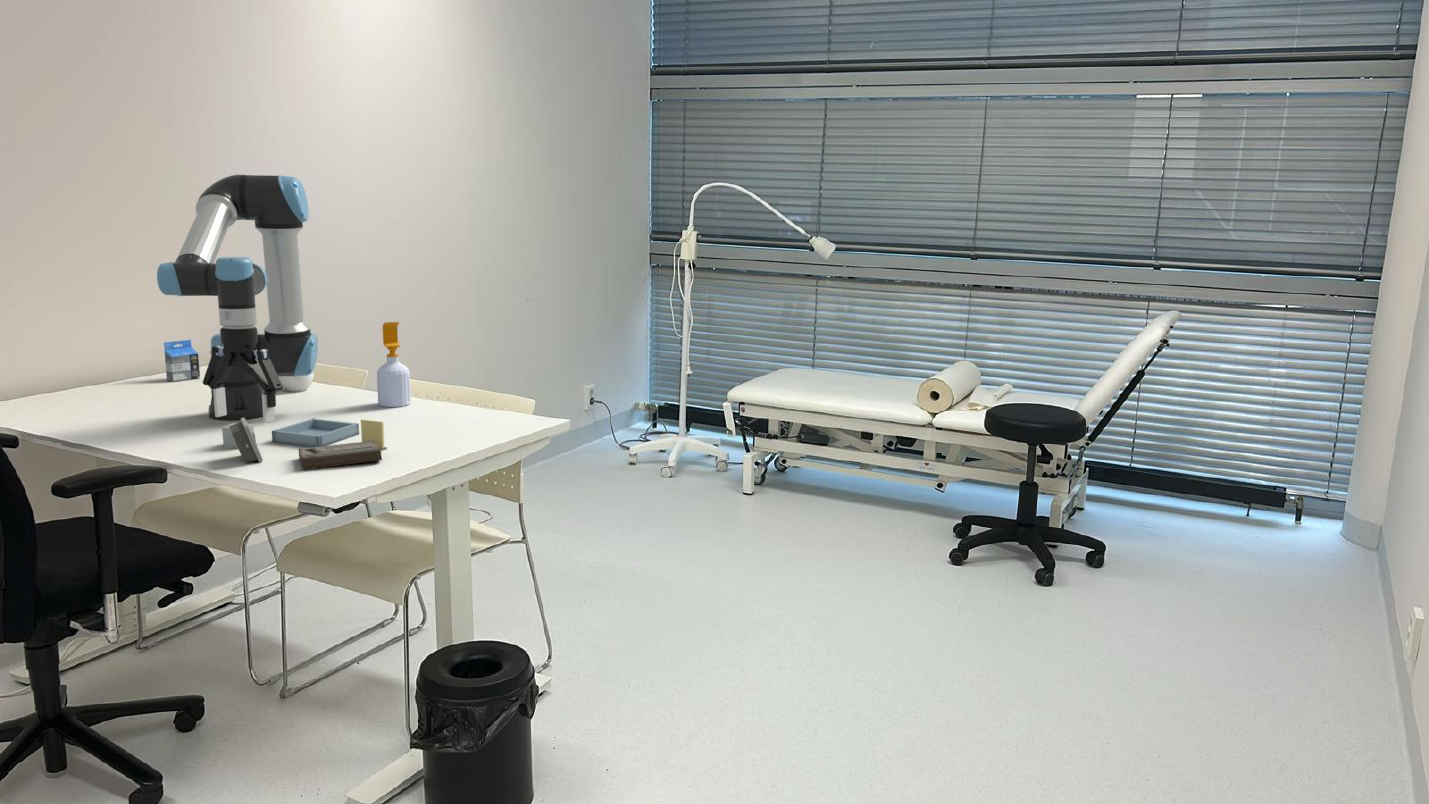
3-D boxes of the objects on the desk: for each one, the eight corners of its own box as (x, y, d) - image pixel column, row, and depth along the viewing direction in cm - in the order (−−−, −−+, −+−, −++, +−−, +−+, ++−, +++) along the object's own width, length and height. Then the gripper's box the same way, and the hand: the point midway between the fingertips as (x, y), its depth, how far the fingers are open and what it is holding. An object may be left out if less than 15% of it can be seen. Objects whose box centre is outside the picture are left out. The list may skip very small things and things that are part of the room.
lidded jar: (270, 390, 299) (268, 360, 297) (302, 385, 307) (300, 356, 305) (290, 394, 293) (288, 364, 291) (322, 389, 301) (320, 360, 299)
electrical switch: (263, 462, 221) (256, 424, 219) (238, 467, 219) (231, 428, 217) (259, 453, 229) (252, 415, 227) (235, 457, 227) (227, 419, 224)
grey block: (223, 447, 233) (222, 427, 232) (234, 442, 238) (233, 422, 237) (243, 448, 233) (242, 428, 232) (254, 443, 238) (253, 423, 237)
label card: (359, 448, 236) (358, 420, 234) (365, 446, 238) (364, 418, 236) (380, 451, 234) (379, 423, 232) (386, 448, 236) (385, 420, 235)
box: (382, 462, 224) (381, 449, 223) (301, 471, 216) (300, 458, 216) (376, 452, 233) (375, 439, 233) (299, 460, 226) (297, 447, 225)
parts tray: (272, 442, 239) (271, 431, 238) (313, 428, 253) (313, 418, 253) (319, 447, 235) (319, 436, 235) (359, 434, 249) (358, 423, 249)
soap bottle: (381, 408, 278) (377, 324, 273) (376, 402, 286) (372, 319, 281) (413, 406, 282) (410, 323, 277) (407, 400, 290) (404, 319, 285)
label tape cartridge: (173, 382, 305) (169, 343, 303) (166, 380, 307) (162, 342, 305) (200, 378, 313) (197, 340, 310) (194, 376, 315) (190, 339, 312)
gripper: (180, 324, 217) (188, 416, 221) (271, 331, 210) (277, 426, 214) (207, 321, 224) (213, 410, 228) (296, 328, 217) (301, 420, 221)
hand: (244, 418), depth 221 cm, fingers open, 13 cm apart
